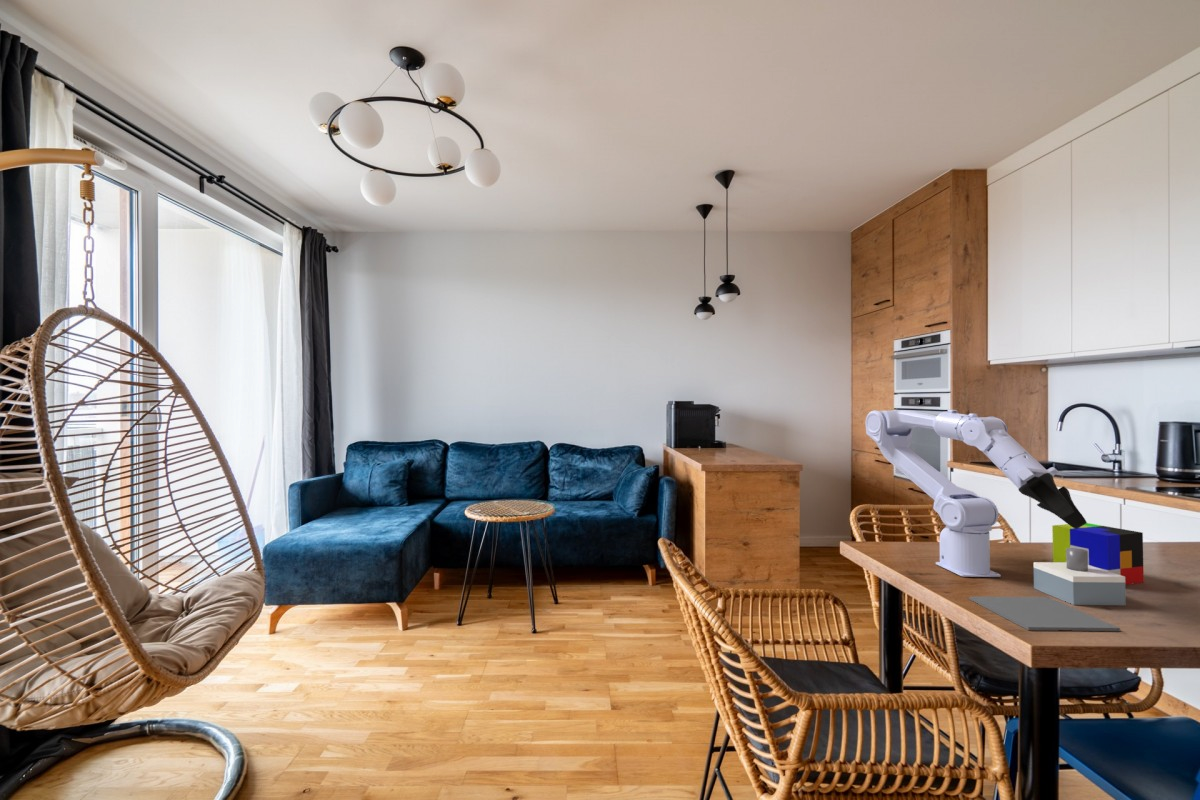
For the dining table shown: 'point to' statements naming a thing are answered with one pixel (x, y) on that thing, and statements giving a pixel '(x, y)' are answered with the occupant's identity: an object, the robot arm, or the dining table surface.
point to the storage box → (1080, 590)
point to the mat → (1043, 614)
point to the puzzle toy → (1103, 548)
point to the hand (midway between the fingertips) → (1074, 520)
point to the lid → (1078, 568)
